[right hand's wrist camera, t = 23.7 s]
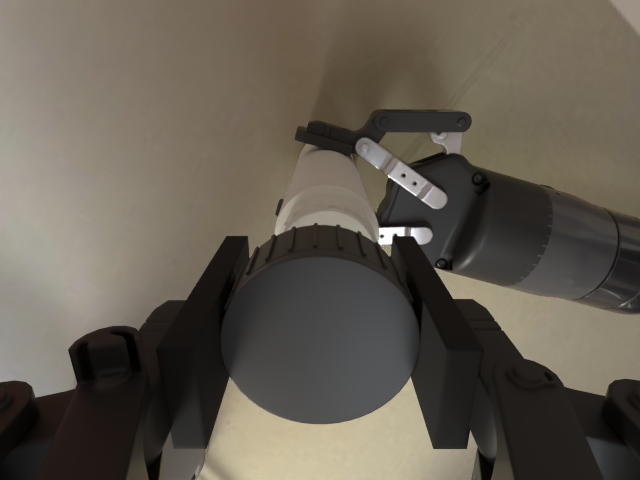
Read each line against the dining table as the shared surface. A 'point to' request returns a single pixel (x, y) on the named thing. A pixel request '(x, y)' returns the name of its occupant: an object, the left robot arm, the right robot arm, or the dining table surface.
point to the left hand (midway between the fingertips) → (288, 171)
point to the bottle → (327, 194)
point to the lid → (320, 326)
